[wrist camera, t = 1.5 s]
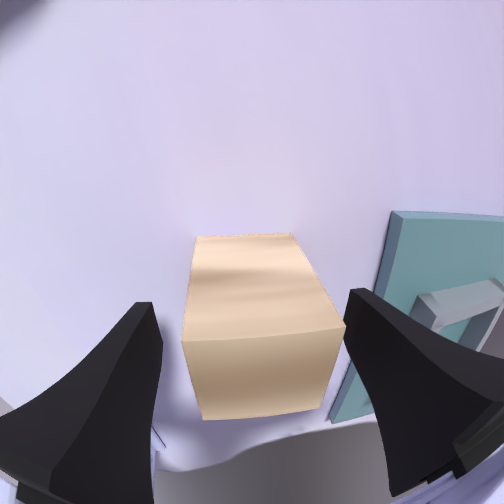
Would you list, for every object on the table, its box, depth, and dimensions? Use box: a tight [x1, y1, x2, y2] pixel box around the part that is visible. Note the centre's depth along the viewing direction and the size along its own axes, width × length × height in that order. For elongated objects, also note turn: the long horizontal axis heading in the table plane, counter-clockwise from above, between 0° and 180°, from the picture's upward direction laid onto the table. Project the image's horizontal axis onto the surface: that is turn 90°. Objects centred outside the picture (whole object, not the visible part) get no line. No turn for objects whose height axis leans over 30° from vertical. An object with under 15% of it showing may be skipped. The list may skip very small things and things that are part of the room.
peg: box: [181, 233, 346, 420], centre depth 10 cm, size 4×4×6 cm
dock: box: [329, 211, 504, 424], centre depth 15 cm, size 18×14×3 cm
